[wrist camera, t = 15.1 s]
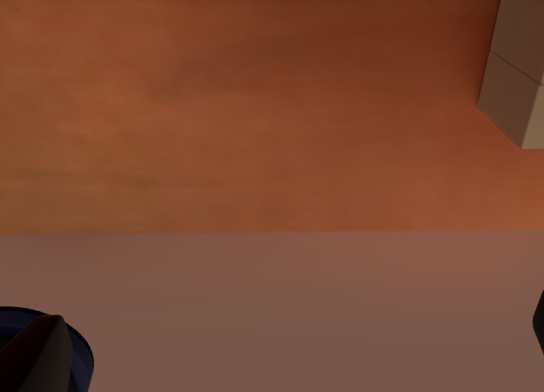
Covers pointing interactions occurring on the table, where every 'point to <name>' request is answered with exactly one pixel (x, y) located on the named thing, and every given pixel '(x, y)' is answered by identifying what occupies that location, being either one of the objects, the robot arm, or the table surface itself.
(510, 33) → the hole block
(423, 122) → the table surface
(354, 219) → the table surface
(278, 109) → the table surface
